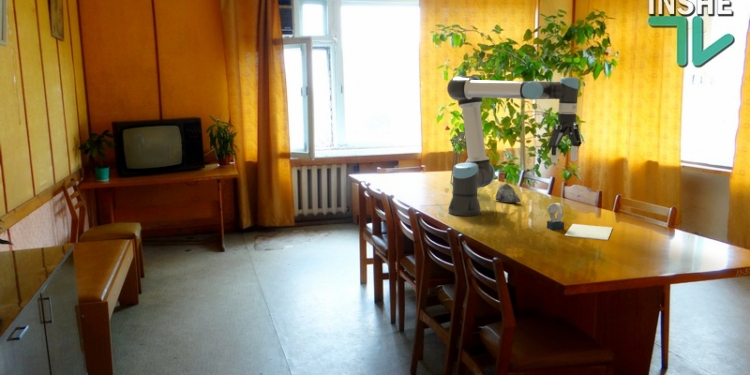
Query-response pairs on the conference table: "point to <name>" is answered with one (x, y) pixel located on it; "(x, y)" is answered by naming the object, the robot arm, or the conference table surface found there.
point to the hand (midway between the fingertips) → (564, 161)
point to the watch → (556, 222)
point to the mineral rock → (506, 194)
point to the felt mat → (589, 232)
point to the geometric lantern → (458, 148)
